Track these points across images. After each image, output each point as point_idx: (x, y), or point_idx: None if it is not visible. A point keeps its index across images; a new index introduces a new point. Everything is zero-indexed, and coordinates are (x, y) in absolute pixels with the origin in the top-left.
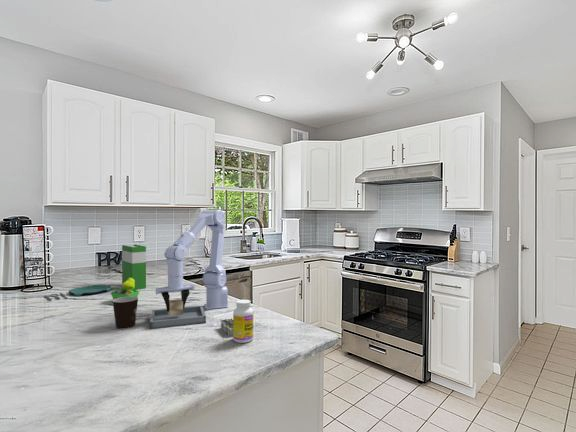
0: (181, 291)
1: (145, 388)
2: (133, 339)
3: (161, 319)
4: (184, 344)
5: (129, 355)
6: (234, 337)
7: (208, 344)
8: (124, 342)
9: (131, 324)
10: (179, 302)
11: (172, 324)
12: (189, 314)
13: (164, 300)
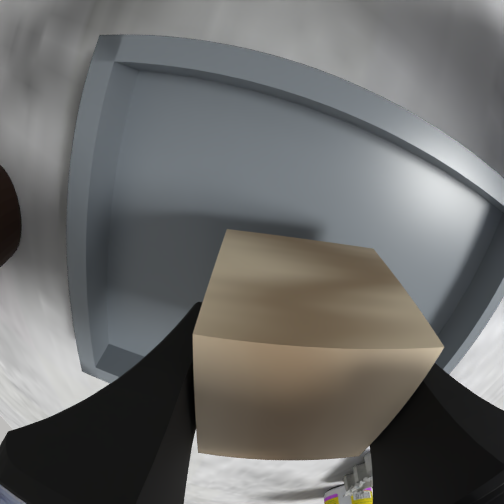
0: (476, 491)
1: None
2: (66, 392)
3: (167, 239)
4: (217, 477)
5: None
6: (324, 500)
7: (270, 489)
8: (49, 391)
9: (5, 261)
10: (318, 456)
11: None
12: (424, 246)
13: (120, 391)
